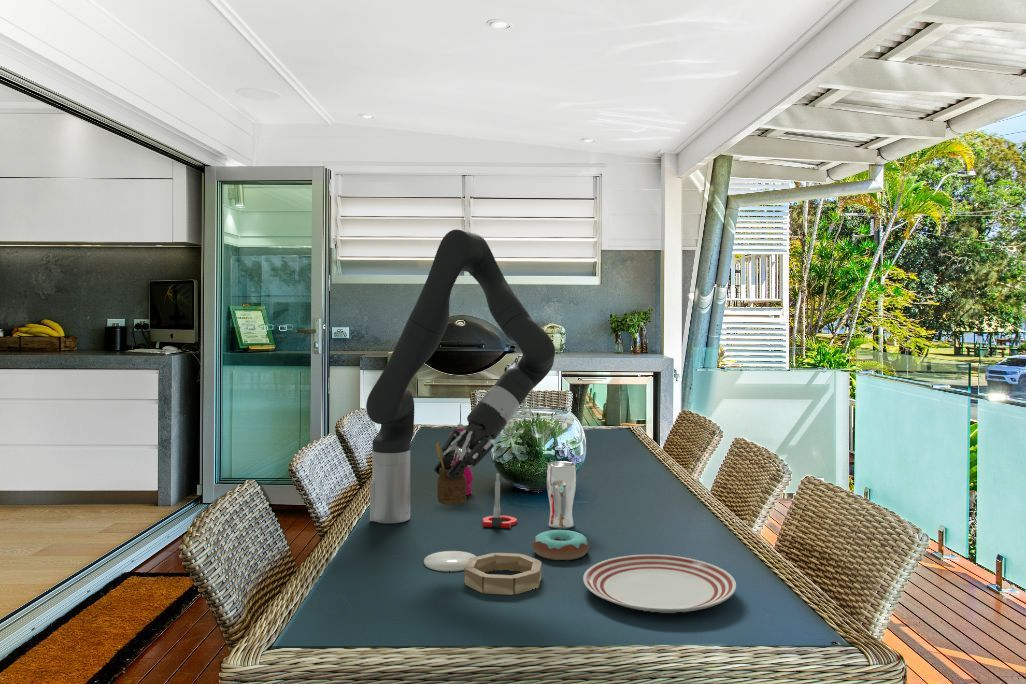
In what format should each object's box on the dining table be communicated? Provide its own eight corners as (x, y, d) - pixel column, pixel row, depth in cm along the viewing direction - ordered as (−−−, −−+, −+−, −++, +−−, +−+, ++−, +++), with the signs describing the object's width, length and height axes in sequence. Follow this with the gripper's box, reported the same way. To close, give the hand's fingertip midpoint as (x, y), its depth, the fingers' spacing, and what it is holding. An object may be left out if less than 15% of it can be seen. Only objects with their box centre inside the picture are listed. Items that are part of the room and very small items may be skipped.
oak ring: (460, 592, 139) (460, 576, 139) (473, 566, 153) (473, 551, 153) (537, 595, 137) (537, 579, 137) (543, 569, 151) (543, 554, 151)
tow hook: (485, 519, 190) (478, 527, 180) (487, 467, 190) (479, 473, 181) (519, 521, 188) (513, 529, 179) (520, 469, 188) (514, 475, 179)
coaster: (418, 570, 150) (418, 567, 150) (430, 552, 161) (430, 550, 161) (473, 572, 149) (473, 569, 149) (481, 554, 160) (481, 552, 160)
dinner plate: (635, 636, 121) (635, 616, 121) (557, 580, 146) (557, 563, 146) (769, 610, 132) (770, 591, 131) (675, 562, 157) (676, 546, 157)
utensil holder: (459, 506, 151) (459, 446, 151) (431, 503, 153) (430, 445, 153) (471, 499, 157) (470, 441, 156) (443, 497, 159) (442, 440, 158)
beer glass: (579, 523, 184) (580, 462, 184) (569, 531, 178) (570, 467, 177) (553, 520, 187) (553, 460, 187) (542, 527, 181) (542, 465, 180)
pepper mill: (476, 492, 216) (476, 422, 215) (466, 497, 209) (467, 425, 209) (453, 490, 218) (453, 421, 218) (443, 495, 212) (443, 424, 211)
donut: (553, 567, 153) (553, 547, 153) (521, 551, 164) (522, 532, 163) (600, 557, 160) (600, 538, 160) (566, 542, 170) (566, 524, 170)
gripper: (465, 397, 164) (416, 458, 158) (501, 403, 152) (448, 470, 146) (486, 419, 167) (438, 480, 161) (523, 427, 155) (472, 493, 149)
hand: (443, 475), depth 154 cm, fingers closed on utensil holder, 5 cm apart
